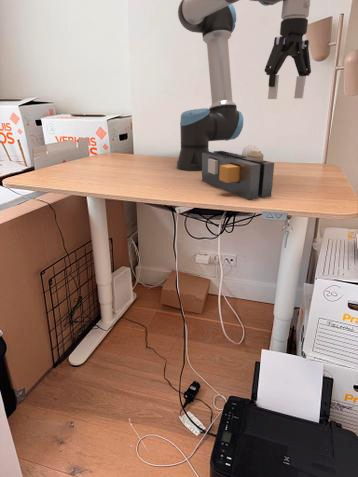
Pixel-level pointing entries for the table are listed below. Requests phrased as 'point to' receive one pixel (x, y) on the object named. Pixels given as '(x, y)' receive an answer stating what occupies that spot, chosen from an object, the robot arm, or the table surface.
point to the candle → (256, 155)
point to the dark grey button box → (241, 174)
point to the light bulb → (249, 149)
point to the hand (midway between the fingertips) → (285, 98)
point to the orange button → (229, 173)
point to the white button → (213, 165)
